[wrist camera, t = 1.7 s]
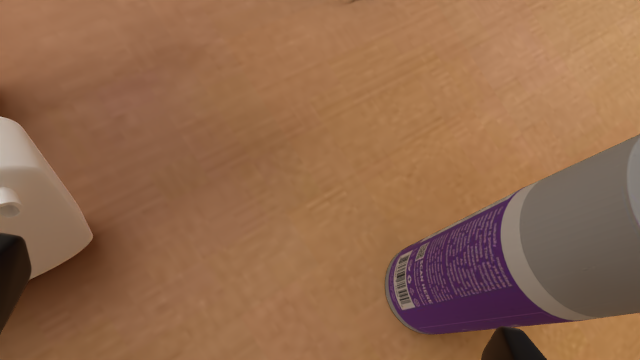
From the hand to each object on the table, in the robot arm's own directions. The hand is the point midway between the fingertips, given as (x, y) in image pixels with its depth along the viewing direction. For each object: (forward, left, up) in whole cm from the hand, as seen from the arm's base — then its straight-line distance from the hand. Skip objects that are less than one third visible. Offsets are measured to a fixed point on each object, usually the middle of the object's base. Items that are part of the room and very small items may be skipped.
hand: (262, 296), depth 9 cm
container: (+1, -11, -14) cm, 18 cm away
